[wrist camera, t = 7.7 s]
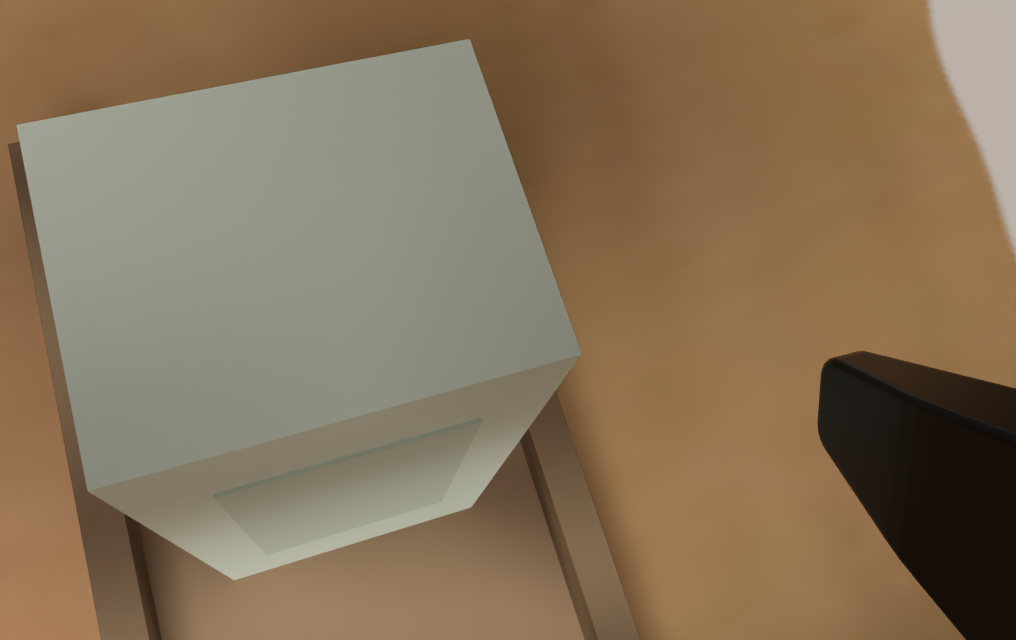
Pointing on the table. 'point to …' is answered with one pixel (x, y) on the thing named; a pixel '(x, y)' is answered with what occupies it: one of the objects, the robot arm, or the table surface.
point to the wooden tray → (366, 554)
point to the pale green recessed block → (296, 303)
